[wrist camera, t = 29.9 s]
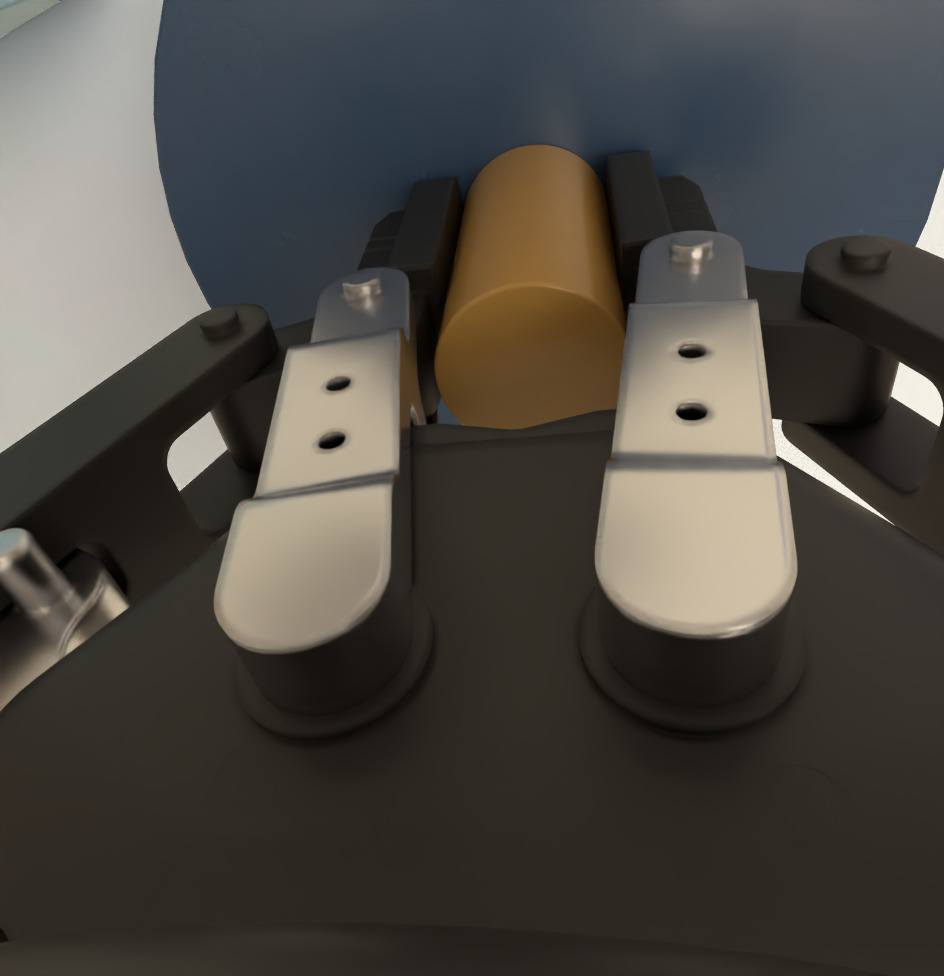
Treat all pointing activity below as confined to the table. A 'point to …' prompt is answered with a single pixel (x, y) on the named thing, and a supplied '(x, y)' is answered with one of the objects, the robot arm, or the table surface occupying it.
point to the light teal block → (20, 12)
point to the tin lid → (534, 154)
